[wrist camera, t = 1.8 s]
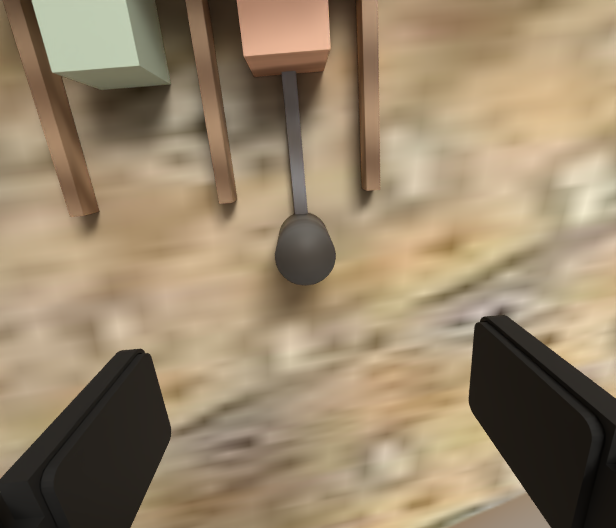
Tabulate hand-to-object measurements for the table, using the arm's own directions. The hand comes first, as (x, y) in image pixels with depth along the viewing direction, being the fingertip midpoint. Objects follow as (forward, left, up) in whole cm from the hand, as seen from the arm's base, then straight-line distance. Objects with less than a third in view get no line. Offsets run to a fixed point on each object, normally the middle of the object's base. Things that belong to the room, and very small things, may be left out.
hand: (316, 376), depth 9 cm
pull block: (+7, 0, -19) cm, 20 cm away
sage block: (+14, +11, -19) cm, 26 cm away
